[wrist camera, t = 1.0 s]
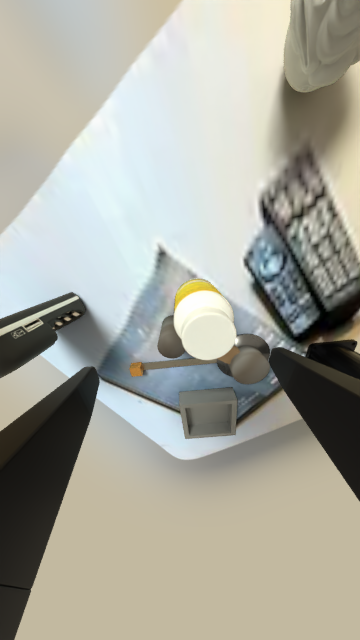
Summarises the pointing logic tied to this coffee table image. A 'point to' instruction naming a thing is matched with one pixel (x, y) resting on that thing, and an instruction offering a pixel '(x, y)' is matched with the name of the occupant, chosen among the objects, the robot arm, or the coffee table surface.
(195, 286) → the supplement bottle
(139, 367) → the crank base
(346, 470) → the robot arm
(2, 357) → the battery charger
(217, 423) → the tray
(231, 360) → the crank
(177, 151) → the coffee table surface
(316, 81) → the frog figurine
